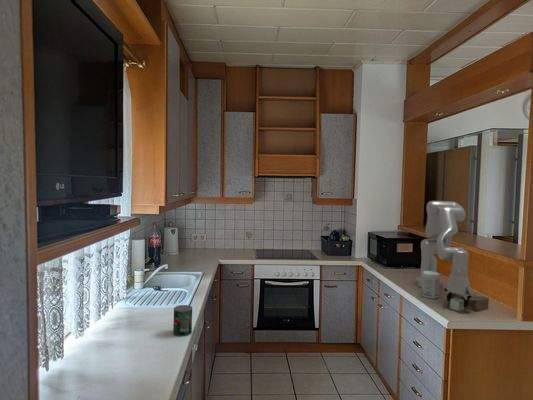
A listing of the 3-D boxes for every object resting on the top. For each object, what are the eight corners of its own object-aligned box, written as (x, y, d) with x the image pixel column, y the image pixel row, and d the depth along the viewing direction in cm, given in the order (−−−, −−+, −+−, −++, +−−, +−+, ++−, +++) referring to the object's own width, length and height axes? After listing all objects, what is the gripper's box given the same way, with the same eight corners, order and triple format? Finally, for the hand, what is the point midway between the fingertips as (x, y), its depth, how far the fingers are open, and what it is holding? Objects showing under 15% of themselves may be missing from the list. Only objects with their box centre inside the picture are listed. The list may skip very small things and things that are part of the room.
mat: (443, 307, 220) (443, 306, 220) (450, 305, 223) (450, 304, 223) (463, 314, 210) (463, 313, 210) (471, 312, 213) (471, 311, 213)
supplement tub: (433, 294, 244) (435, 270, 243) (441, 299, 235) (443, 274, 234) (418, 294, 244) (420, 270, 243) (425, 299, 234) (427, 274, 233)
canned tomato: (169, 333, 171) (169, 308, 170) (183, 327, 177) (184, 303, 177) (181, 338, 166) (181, 312, 166) (195, 332, 172) (196, 308, 172)
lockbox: (448, 303, 228) (449, 292, 227) (460, 300, 234) (461, 290, 234) (476, 311, 214) (476, 300, 214) (488, 308, 221) (488, 297, 220)
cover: (449, 308, 217) (450, 297, 217) (455, 306, 220) (455, 296, 220) (458, 310, 213) (459, 300, 213) (463, 309, 216) (464, 299, 216)
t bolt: (457, 291, 231) (457, 285, 230) (463, 289, 234) (463, 284, 234) (469, 294, 225) (469, 289, 225) (474, 292, 228) (475, 287, 228)
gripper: (440, 269, 221) (438, 300, 222) (471, 277, 206) (468, 309, 207) (448, 268, 225) (446, 298, 226) (478, 275, 210) (476, 307, 211)
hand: (457, 303), depth 216 cm, fingers open, 9 cm apart
